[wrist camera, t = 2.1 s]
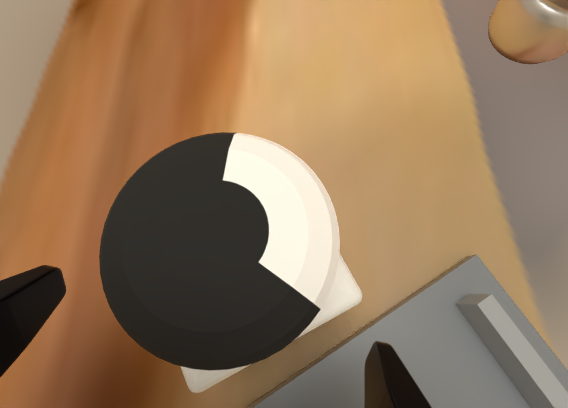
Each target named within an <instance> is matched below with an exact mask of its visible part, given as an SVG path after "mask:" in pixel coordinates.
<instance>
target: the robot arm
mask: <svg viewBox="0 0 568 408" xmlns="http://www.w3.org/2000/svg"><path fill="white" fill-rule="evenodd" d="M65 293H66V286H65V282H64V278H63V275H62V271H61V270H60V269H59V268H57V267H53V266H49V265H43V266H39V267H37V268H34V269H31V270H28V271H26V272H23V273H20V274H17V275H15V276H12V277H9V278H6V279H4V280H1V281H0V377H1V376H2V375H3V374H4V373H5V372H6V370H7V369H8V368H9V367H10V366H11V365H12V364H13V362H14V361H15V360H16V359H17V358H18V357H19V356H20V354H21V353H22V352H23V351H24V350H25V348H26V347H27V346H28V345H29V343H30V342H31V341H32V339H33V338H34V337H35V335H36V334H37V333H38V331H39V330H40V329H41V327H42V326H43V325H44V323H45V322H46V320H47V319H48V318H49V316H50V315H51V314H52V312H53V311H54V310H55V308H56V307H57V305H58V304H59V303H60V301H61V300H62V299H63V297H64V295H65ZM364 408H432V407H431V405H430V404H429V402H428V401H427V399H426V398H425V396H424V394H423V393H422V391H421V390H420V388H419V387H418V385H417V384H416V382H415V381H414V379H413V378H412V376H411V374H410V373H409V371H408V370H407V368H406V367H405V365H404V364H403V362H402V361H401V359H400V358H399V356H398V354H397V353H396V351H395V350H394V348H393V347H392V346H391V345H390V344H388V343H384V342H380V341H375V342H374V343H373V345H372V347H371V349H370V351H369V354H368V356H367V358H366V361H365V369H364Z"/></svg>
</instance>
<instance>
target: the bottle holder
mask: <svg viewBox="0 0 568 408" xmlns="http://www.w3.org/2000/svg"><path fill="white" fill-rule="evenodd" d="M375 341H380V342H384V343H388V344H390V345H391V346H392V347H393V348H394V350H395V351H396V353H397V354H398V356H399V358H400V359H401V361H402V362H403V364H404V365H405V367H406V368H407V370H408V371H409V373H410V374H411V376H412V378H413V379H414V381H415V382H416V384H417V385H418V387H419V388H420V390H421V391H422V393H423V394H424V396H425V398H426V399H427V401H428V402H429V404H430V405H431V407H432V408H568V370H567V369H566V368H565V366H564V365H563V364H562V363H561V361H560V360H559V359H558V358H557V356H556V355H555V354H554V352H553V351H552V350H551V349H550V347H549V346H548V345H547V344H546V342H545V341H544V340H543V338H542V337H541V336H540V335H539V333H538V332H537V331H536V330H535V328H534V327H533V326H532V324H531V323H530V322H529V321H528V319H527V318H526V317H525V315H524V314H523V313H522V312H521V310H520V309H519V308H518V307H517V305H516V304H515V303H514V301H513V300H512V299H511V298H510V296H509V295H508V294H507V293H506V291H505V290H504V289H503V287H502V286H501V285H500V284H499V282H498V281H497V280H496V279H495V277H494V276H493V275H492V273H491V272H490V271H489V270H488V268H487V267H486V266H485V265H484V263H483V262H482V261H481V259H480V258H479V257H478V256H477V254H476V255H472V256H468V257H467V258H465V259H464V260H462V261H461V262H459V263H458V264H456V265H455V266H453V267H452V268H450V269H449V270H448V271H446V272H445V273H443V274H442V275H440V276H439V277H437V278H436V279H434V280H433V281H431V282H430V283H428V284H427V285H426V286H424V287H423V288H421V289H420V290H418V291H417V292H415V293H414V294H412V295H411V296H409V297H408V298H406V299H405V300H403V301H402V302H401V303H399V304H398V305H396V306H395V307H393V308H392V309H390V310H389V311H387V312H386V313H384V314H383V315H381V316H380V317H379V318H377V319H376V320H374V321H373V322H371V323H370V324H368V325H367V326H365V327H364V328H362V329H361V330H359V331H358V332H357V333H355V334H354V335H352V336H351V337H349V338H348V339H346V340H345V341H343V342H342V343H340V344H339V345H337V346H336V347H334V348H333V349H332V350H330V351H329V352H327V353H326V354H324V355H323V356H321V357H320V358H318V359H317V360H315V361H314V362H312V363H311V364H310V365H308V366H307V367H305V368H304V369H302V370H301V371H299V372H298V373H296V374H295V375H293V376H292V377H290V378H289V379H287V380H286V381H285V382H283V383H282V384H280V385H279V386H277V387H276V388H274V389H273V390H271V391H270V392H268V393H267V394H265V395H264V396H263V397H261V398H260V399H258V400H257V401H255V402H254V403H252V404H251V405H249V406H248V407H246V408H364V369H365V361H366V358H367V356H368V354H369V351H370V349H371V347H372V345H373V343H374V342H375Z"/></svg>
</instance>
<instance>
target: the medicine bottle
mask: <svg viewBox="0 0 568 408" xmlns="http://www.w3.org/2000/svg"><path fill="white" fill-rule="evenodd" d="M339 248H340V239H339V227H338V222H337V218H336V213H335V210H334V207H333V204H332V202H331V199H330V197H329V195H328V193H327V191H326V189H325V187H324V185H323V184H322V182H321V181H320V180H319V178H318V177H317V176H316V174H315V173H314V171H313V170H312V169H311V168H310V167H309V166H308V165H307V164H306V163H305V162H304V161H303V160H301V159H300V158H299V157H298V156H296V155H295V154H294V153H292V152H291V151H289V150H288V149H286V148H284V147H282V146H281V145H279V144H277V143H274V142H272V141H269V140H267V139H264V138H261V137H257V136H253V135H248V134H241V133H213V134H205V135H201V136H197V137H192V138H190V139H187V140H184V141H181V142H178V143H176V144H174V145H172V146H170V147H168V148H166V149H164V150H163V151H161V152H160V153H158V154H157V155H155V156H154V157H152V158H151V159H150V160H148V161H147V162H146V163H145V164H144V165H142V166H141V167H140V168H139V169H138V170H137V171H136V172H135V173H134V174H133V175H132V177H131V178H130V179H129V180H128V181H127V182H126V184H125V185H124V187H123V188H122V189H121V191H120V192H119V194H118V195H117V197H116V199H115V201H114V203H113V205H112V206H111V209H110V211H109V214H108V216H107V219H106V222H105V225H104V229H103V233H102V237H101V245H100V255H99V257H100V274H101V279H102V284H103V290H104V292H105V295H106V298H107V301H108V303H109V306H110V308H111V310H112V311H113V313H114V315H115V317H116V319H117V321H118V322H119V323H120V325H121V326H122V327H123V328H124V330H125V331H126V332H127V333H128V335H129V336H130V337H131V338H133V339H134V340H135V341H136V342H137V343H138V344H139V345H140V346H141V347H143V348H144V349H146V350H147V351H149V352H150V353H152V354H153V355H155V356H156V357H158V358H161V359H163V360H165V361H167V362H170V363H172V364H175V365H179V366H181V369H182V372H183V375H184V377H185V380H186V383H187V386H188V388H189V389H190V391H191V392H194V393H200V392H203V391H205V390H207V389H208V388H210V387H212V386H214V385H215V384H217V383H219V382H221V381H223V380H224V379H226V378H228V377H230V376H231V375H233V374H235V373H237V372H239V371H240V370H242V369H244V368H246V367H247V366H249V365H251V364H253V363H255V362H258V361H260V360H263V359H266V358H267V357H269V356H271V355H273V354H274V353H276V352H278V351H280V350H282V349H283V348H284V347H286V346H287V345H288V344H289V343H291V342H292V341H294V340H295V339H297V338H299V337H301V336H302V335H304V334H306V333H308V332H310V331H311V330H313V329H315V328H317V327H318V326H320V325H322V324H324V323H326V322H327V321H329V320H331V319H333V318H334V317H336V316H338V315H340V314H342V313H343V312H345V311H347V310H349V309H350V308H352V307H354V306H356V305H358V304H359V303H360V302H361V300H362V293H361V290H360V288H359V286H358V285H357V283H356V281H355V279H354V278H353V276H352V274H351V272H350V270H349V269H348V267H347V265H346V263H345V262H344V260H343V258H342V256H341V254H340V253H339Z"/></svg>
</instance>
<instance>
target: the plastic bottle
mask: <svg viewBox="0 0 568 408" xmlns="http://www.w3.org/2000/svg"><path fill="white" fill-rule="evenodd" d="M488 31H489V32H488V33H489V39H490V41H491V43H492V45H493V46H494V48H495V49H496V50H497V51H498V52H499V53H500V54H502V55H503V56H505V57H506V58H508V59H510V60H512V61H515V62H519V63H523V64H537V63H541V62H545V61H549V60H553V59H555V58H558V57H560V56H562V55H563V54H565V53H566V52H568V0H499V1H498V3H497V5H496V7H495V9H494V10H493V12H492V14H491V16H490V20H489V30H488Z"/></svg>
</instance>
